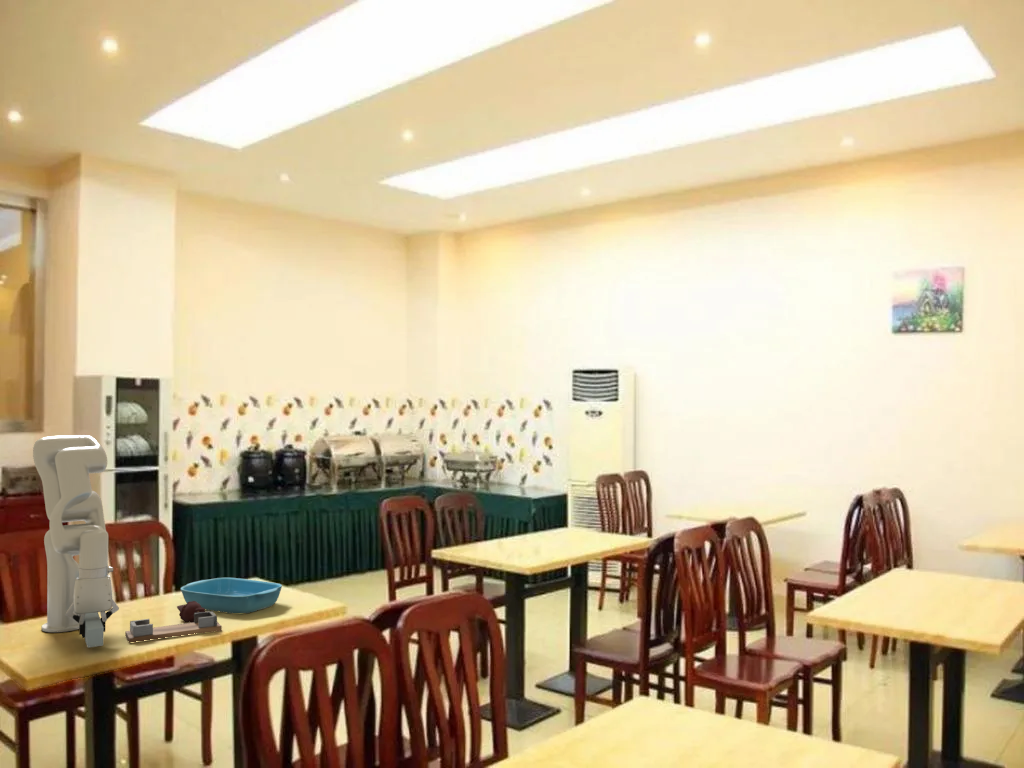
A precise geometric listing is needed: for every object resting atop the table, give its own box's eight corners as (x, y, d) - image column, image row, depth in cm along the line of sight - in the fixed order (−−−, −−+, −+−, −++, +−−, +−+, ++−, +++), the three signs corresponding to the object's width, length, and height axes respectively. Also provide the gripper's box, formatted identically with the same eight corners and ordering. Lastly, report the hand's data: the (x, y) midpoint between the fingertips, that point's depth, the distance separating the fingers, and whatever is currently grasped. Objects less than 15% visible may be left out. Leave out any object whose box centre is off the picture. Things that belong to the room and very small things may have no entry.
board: (125, 636, 256) (125, 631, 256) (215, 624, 269) (215, 619, 269) (129, 643, 248) (129, 638, 248) (221, 630, 262) (221, 626, 262)
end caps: (130, 631, 256) (130, 621, 256) (211, 620, 268) (211, 610, 268) (133, 637, 249) (133, 626, 249) (217, 626, 262) (217, 616, 262)
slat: (87, 647, 239) (87, 629, 239) (81, 628, 256) (82, 611, 256) (103, 645, 241) (103, 627, 241) (96, 626, 258) (96, 609, 258)
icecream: (165, 601, 273) (193, 612, 264) (185, 591, 278) (213, 602, 270) (169, 621, 274) (196, 633, 265) (189, 611, 280) (217, 622, 271)
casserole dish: (167, 607, 293) (167, 586, 293) (218, 593, 312) (218, 574, 312) (246, 620, 275) (246, 597, 275) (294, 605, 295) (294, 584, 295)
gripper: (123, 567, 255) (122, 628, 256) (60, 573, 247) (58, 636, 247) (126, 572, 249) (125, 635, 249) (61, 578, 240) (60, 643, 241)
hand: (92, 635), depth 248 cm, fingers closed on slat, 4 cm apart
